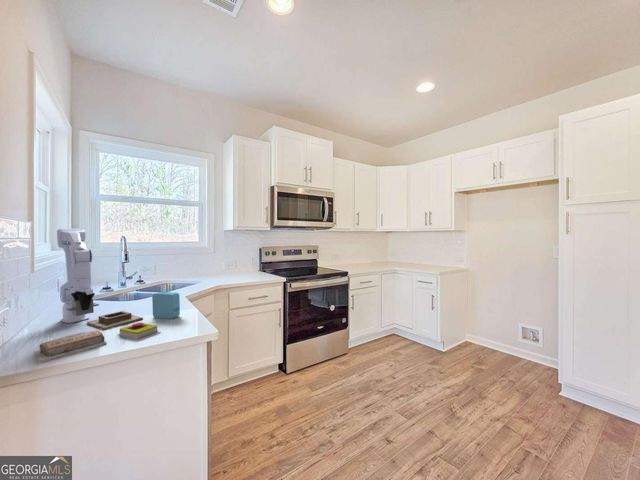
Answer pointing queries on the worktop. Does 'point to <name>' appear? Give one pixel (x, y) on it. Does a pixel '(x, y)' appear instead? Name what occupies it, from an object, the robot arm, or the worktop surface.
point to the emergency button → (139, 331)
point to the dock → (114, 320)
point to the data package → (166, 305)
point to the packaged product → (69, 345)
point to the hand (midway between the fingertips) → (83, 309)
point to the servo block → (78, 310)
